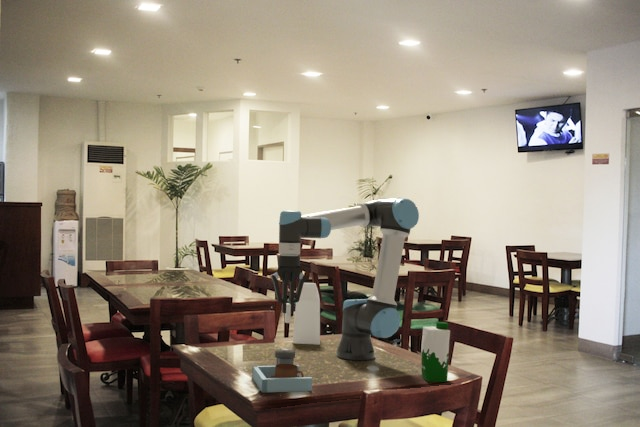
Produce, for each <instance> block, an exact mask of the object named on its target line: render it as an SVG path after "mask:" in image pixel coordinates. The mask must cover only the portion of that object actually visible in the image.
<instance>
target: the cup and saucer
mask: <svg viewBox="0 0 640 427" xmlns="http://www.w3.org/2000/svg"><path fill="white" fill-rule="evenodd" d="M297 365H298V364H294V363H293V364H278V365H276V364H275V365H274V366H275V375H274V376H271V377H269V378H294V377H300V375H299V376H297V373H299V374H301V377H305V375H304V373H303V372H302V371H301V370H300V371H298V366H297Z"/></svg>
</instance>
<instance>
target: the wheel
mask: <svg viewBox="0 0 640 427" xmlns="http://www.w3.org/2000/svg"><path fill="white" fill-rule="evenodd" d="M274 358H279V359H293V358H294V359H295V358H296V350H294V349H289V348H281V349H280V348H279V349H275V351H274Z"/></svg>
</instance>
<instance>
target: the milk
mask: <svg viewBox="0 0 640 427" xmlns="http://www.w3.org/2000/svg"><path fill="white" fill-rule="evenodd" d="M320 299H321V298H320V293H319V289H318V286H317V284H316V282H315V283H314V282H304V284H303V288H302V291H301V295H300V299H299V302H296V303H295V308H294V320H293V321H294V322H293V323H294V324H293V333H292V344H303V345H321V301H320Z"/></svg>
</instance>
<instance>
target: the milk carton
mask: <svg viewBox="0 0 640 427" xmlns="http://www.w3.org/2000/svg"><path fill="white" fill-rule="evenodd" d="M450 336H451V330H450V329H449V322H448V321H447V322H446V321H436V326H432V325H431V326H422V340H421V363H420V364H421V365H420V366H421V377H422V379H424V380H425V381H426V382H427V383H429V382H430V383H447V382H448V374H449V373H448V372H449V356H450V355H449V353H450V352H449V351H450Z"/></svg>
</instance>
